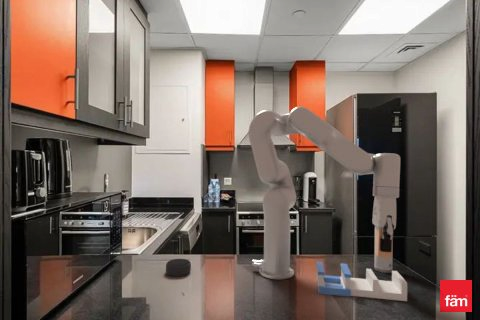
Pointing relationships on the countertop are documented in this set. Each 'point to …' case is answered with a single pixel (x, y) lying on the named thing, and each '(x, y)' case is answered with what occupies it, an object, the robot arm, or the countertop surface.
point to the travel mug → (383, 262)
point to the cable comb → (361, 284)
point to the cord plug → (377, 245)
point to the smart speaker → (178, 267)
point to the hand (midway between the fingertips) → (383, 248)
